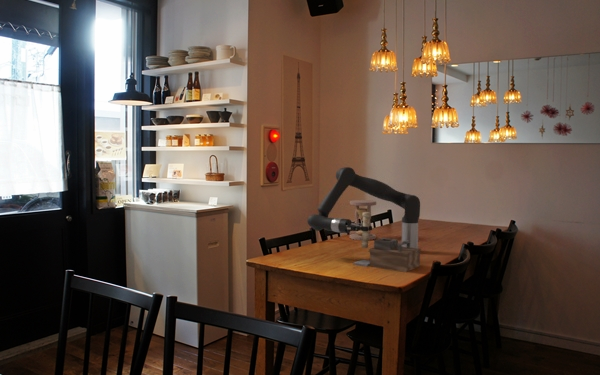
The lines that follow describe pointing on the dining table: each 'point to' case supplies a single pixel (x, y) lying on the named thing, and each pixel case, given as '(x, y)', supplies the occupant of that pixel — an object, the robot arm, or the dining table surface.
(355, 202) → the hourglass
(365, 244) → the pin
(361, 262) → the mat
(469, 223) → the dining table surface
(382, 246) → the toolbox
